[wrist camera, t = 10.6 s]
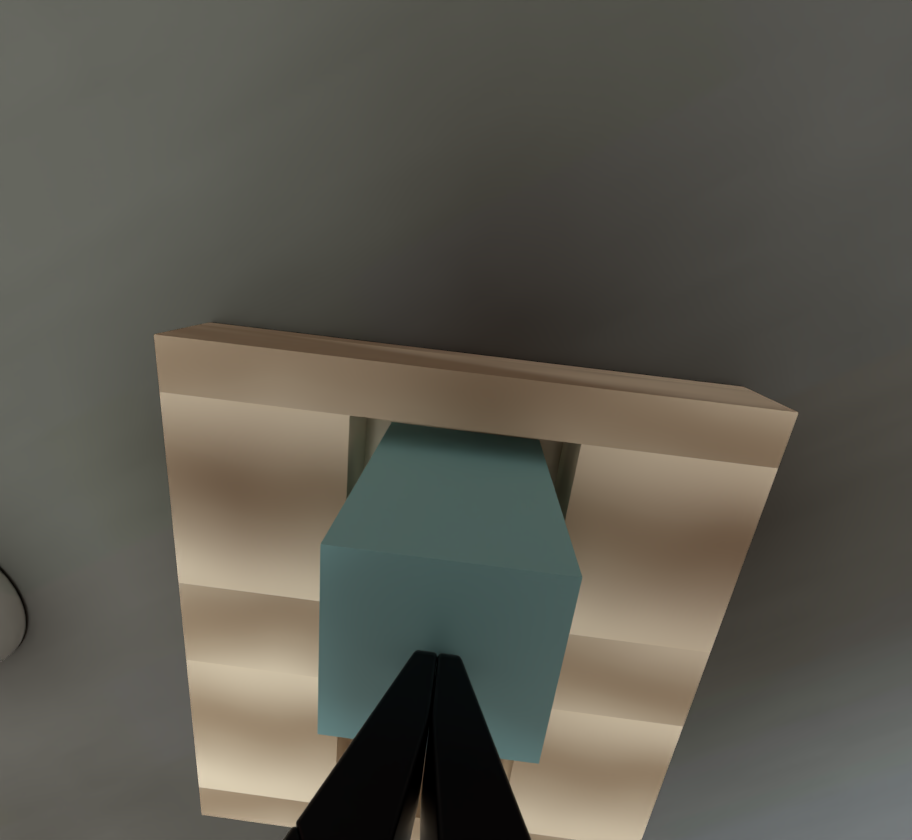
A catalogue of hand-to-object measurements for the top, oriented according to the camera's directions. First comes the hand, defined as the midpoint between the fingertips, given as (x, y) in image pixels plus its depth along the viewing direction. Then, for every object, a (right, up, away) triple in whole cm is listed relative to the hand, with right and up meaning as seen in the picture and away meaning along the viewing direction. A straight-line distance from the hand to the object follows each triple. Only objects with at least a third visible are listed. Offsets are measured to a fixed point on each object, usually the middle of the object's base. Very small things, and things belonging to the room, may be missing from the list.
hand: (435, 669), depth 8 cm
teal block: (0, +2, +6) cm, 7 cm away
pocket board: (0, -2, +8) cm, 8 cm away
